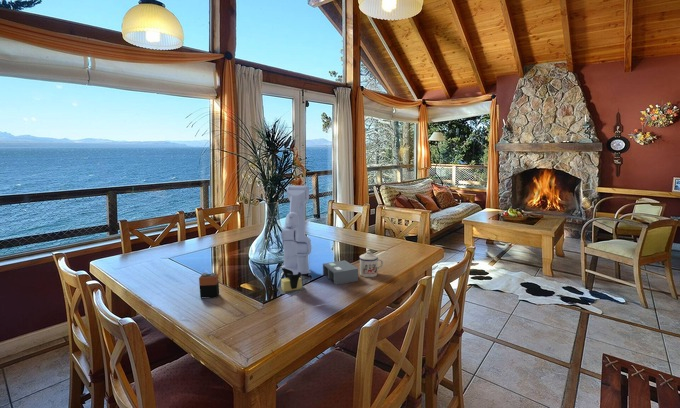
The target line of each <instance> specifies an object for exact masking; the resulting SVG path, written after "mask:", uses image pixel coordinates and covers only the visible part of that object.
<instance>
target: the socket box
mask: <svg viewBox="0 0 680 408" xmlns="http://www.w3.org/2000/svg"><path fill="white" fill-rule="evenodd" d="M322 276H327V279H328V280H329V281H330V280H331V281H333V285H343V284H347V283H354V282H358V281H359V268H358V267H356V266H355V265H353V264H352V263H350V262H349V261H347V260H345V259H344V260H337V261H331V262H326V263H324V262H323V263H322Z"/></svg>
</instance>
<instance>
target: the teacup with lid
mask: <svg viewBox="0 0 680 408" xmlns="http://www.w3.org/2000/svg"><path fill="white" fill-rule="evenodd" d="M358 257H359V275H360V276H362V277H364V278H374V277H377V275H378V270H380V269H382V268H383V267H384V260H382V259H381V258H379V257H378V255H377V254H374V253H372V252H371V250H367V251H366V252H365V253H363V254H360V255H359V256H358ZM378 262H380V263H381V264H380V266H378Z"/></svg>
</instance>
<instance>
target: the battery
mask: <svg viewBox="0 0 680 408" xmlns="http://www.w3.org/2000/svg"><path fill="white" fill-rule="evenodd" d="M219 281H220V280H219V274H218V273H215V272H212V273H207V272H202V273H201V275H200V276H199V278H198V284H199V297H216V298H218V296H219V295H218V294H220V284H219Z"/></svg>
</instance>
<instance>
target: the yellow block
mask: <svg viewBox="0 0 680 408" xmlns="http://www.w3.org/2000/svg"><path fill="white" fill-rule="evenodd" d="M280 284H281V285H280V287H281V289H282V290H283V291H284V292H286V291H292V290H297V289H302V286H303V284H302V278H301V276H300V277H299V280H298V284H297V288H295V289H292V288H291V285H290V280H289V278H285V277H284V278H280Z"/></svg>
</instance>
